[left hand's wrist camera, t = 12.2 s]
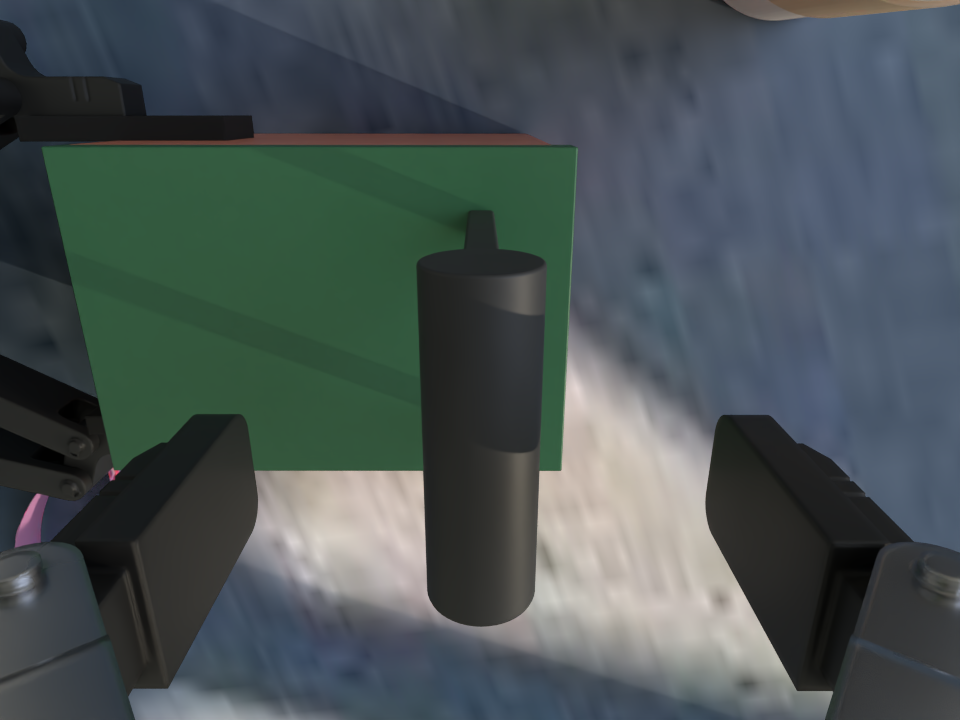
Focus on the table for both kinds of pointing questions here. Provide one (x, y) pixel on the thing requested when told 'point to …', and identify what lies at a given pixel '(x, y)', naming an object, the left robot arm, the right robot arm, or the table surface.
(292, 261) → the lid
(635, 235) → the table surface
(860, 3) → the coffee cup
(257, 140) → the chest
